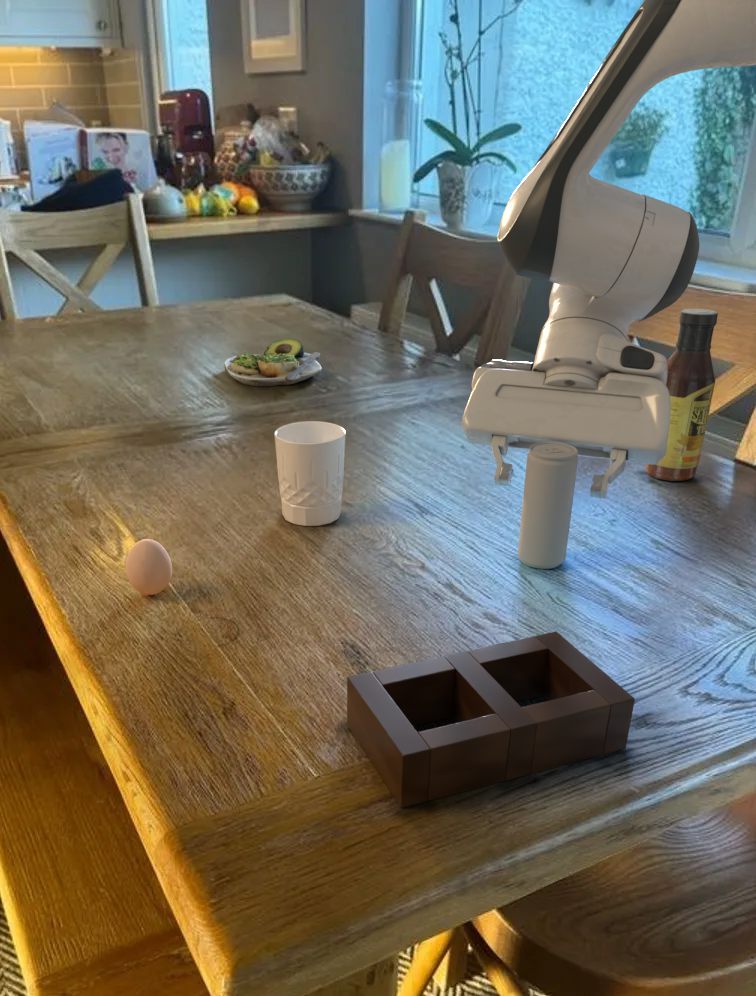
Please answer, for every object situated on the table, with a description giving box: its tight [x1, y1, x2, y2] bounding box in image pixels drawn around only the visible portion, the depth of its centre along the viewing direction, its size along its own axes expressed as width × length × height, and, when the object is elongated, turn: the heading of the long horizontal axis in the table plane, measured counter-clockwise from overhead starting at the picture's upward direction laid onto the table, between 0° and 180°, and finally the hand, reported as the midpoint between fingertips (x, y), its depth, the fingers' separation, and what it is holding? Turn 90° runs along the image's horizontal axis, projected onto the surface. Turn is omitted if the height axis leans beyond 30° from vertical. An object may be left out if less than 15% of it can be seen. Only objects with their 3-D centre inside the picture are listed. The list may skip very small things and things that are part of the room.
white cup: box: [273, 420, 346, 527], centre depth 102 cm, size 8×8×10 cm
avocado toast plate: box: [223, 338, 323, 387], centre depth 158 cm, size 19×18×5 cm
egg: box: [125, 538, 173, 596], centre depth 88 cm, size 4×4×6 cm
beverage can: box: [517, 442, 579, 570], centre depth 90 cm, size 5×5×12 cm
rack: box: [346, 631, 636, 809], centre depth 67 cm, size 18×10×4 cm, turn 109°
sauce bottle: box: [644, 308, 719, 482], centre depth 109 cm, size 7×6×20 cm
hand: (548, 489), depth 90 cm, fingers open, 8 cm apart
